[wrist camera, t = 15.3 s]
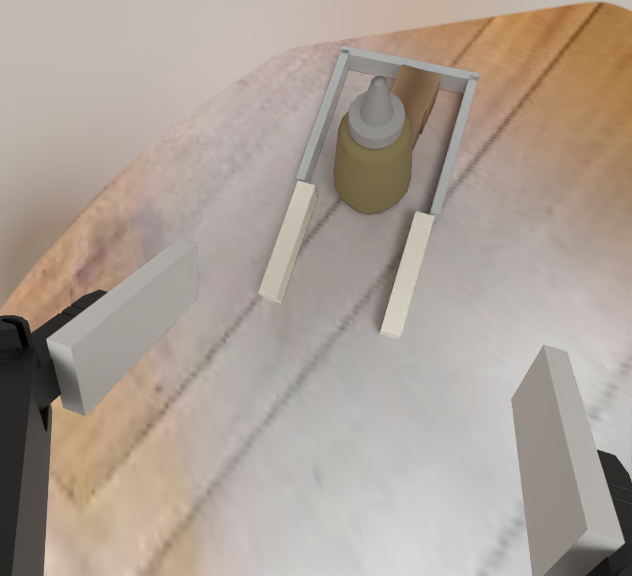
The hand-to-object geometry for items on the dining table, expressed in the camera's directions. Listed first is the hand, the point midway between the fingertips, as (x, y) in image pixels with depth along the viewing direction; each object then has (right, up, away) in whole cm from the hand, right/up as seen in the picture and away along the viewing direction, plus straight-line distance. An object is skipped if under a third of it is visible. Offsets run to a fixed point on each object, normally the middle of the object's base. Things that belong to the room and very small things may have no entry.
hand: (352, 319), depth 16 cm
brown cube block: (+10, +22, +35) cm, 42 cm away
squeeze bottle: (+5, +12, +33) cm, 36 cm away
